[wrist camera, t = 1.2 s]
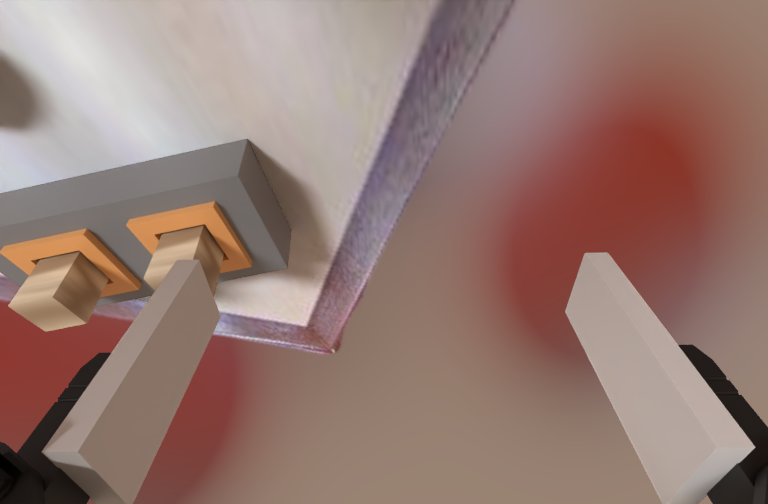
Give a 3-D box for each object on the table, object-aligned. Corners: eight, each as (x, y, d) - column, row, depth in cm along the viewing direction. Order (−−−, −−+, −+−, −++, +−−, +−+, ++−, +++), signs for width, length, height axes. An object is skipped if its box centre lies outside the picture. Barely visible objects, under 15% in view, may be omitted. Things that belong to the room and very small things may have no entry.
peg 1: (46, 250, 38) (7, 306, 33) (85, 242, 38) (52, 297, 33) (77, 276, 41) (45, 331, 36) (113, 269, 40) (86, 323, 36)
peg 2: (165, 225, 37) (143, 278, 33) (206, 216, 37) (189, 269, 32) (188, 253, 40) (170, 306, 35) (226, 246, 40) (213, 298, 35)
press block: (-8, 195, 39) (-54, 243, 34) (247, 138, 37) (236, 181, 33) (81, 273, 47) (54, 320, 43) (291, 229, 46) (287, 273, 41)
